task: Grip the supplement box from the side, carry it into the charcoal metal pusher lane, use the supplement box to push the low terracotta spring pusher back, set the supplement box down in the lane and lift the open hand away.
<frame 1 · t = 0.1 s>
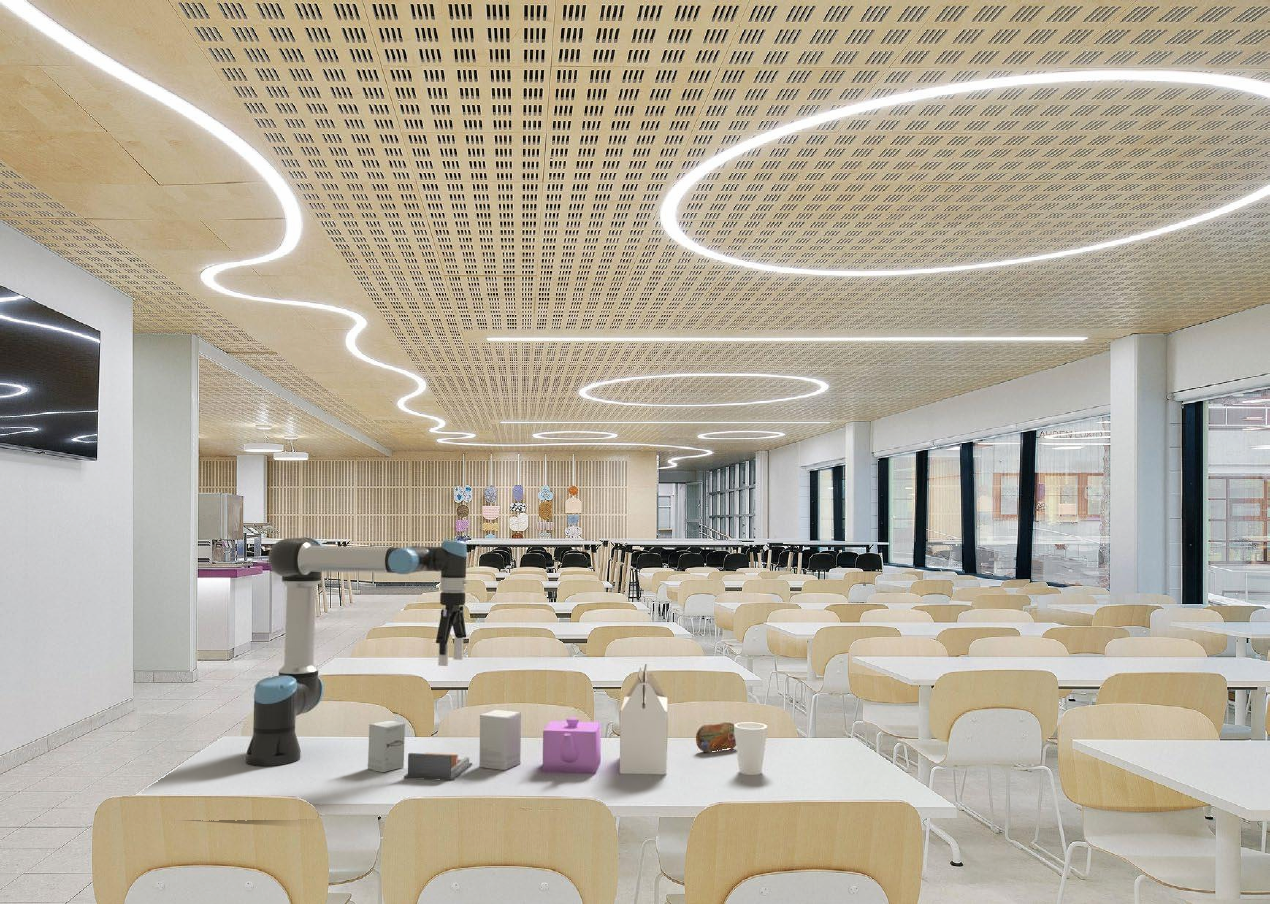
hand: (450, 662, 294), 28 cm above the table, tool pointing down, fingers open, 13 cm apart
pusher lane: (439, 771, 276), on the table
gable box: (644, 765, 286), on the table
supplement box 2: (500, 766, 283), on the table
spring pusher: (441, 760, 277), point 3 cm above the table, slide at 0.0 cm
tin: (717, 751, 304), on the table
foam cup: (750, 772, 278), on the table
supplement box: (385, 769, 278), on the table
teapot: (571, 769, 281), on the table
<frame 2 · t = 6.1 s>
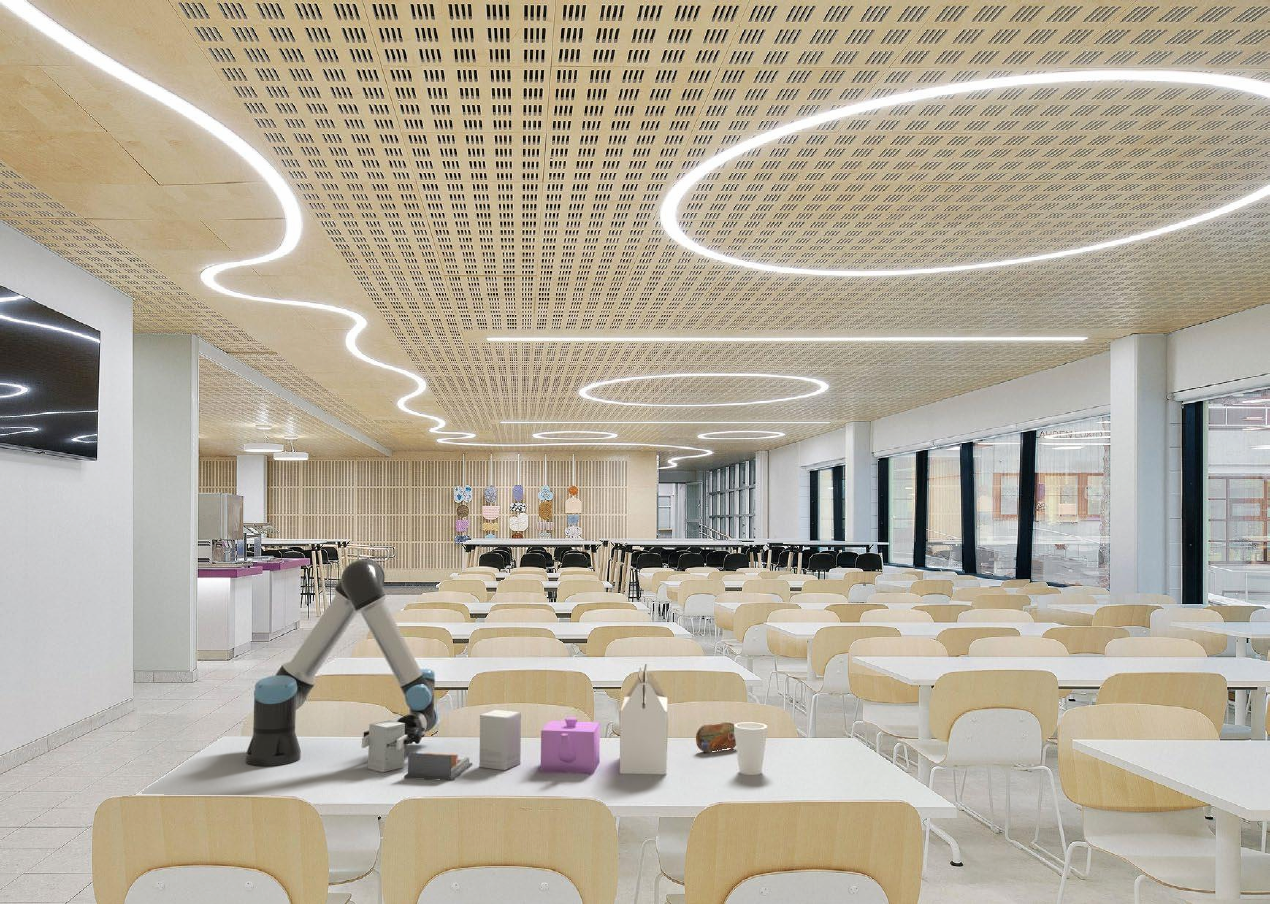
hand: (380, 743, 275), 8 cm above the table, tool horizontal, fingers closed on supplement box, 9 cm apart
supplement box: (385, 768, 278), on the table, touching gripper
everything else where it was.
when the fingers open (9 cm above the table, at t = 12.6 s): supplement box stays where it is, resting on pusher lane, spring pusher.
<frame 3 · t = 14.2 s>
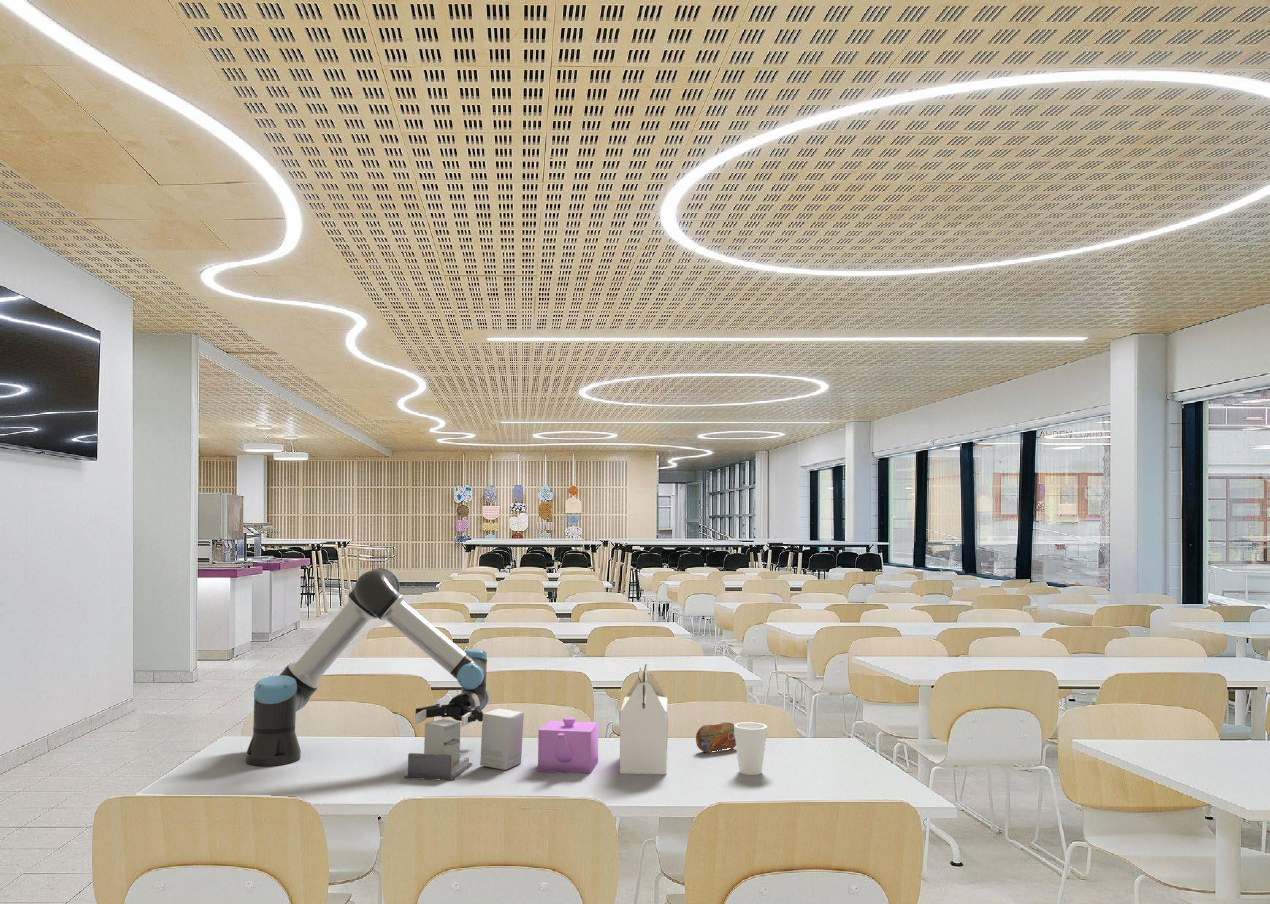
hand: (439, 720, 275), 14 cm above the table, tool horizontal, fingers open, 13 cm apart
spring pusher: (435, 764, 273), point 3 cm above the table, slide at 4.3 cm, touching supplement box
supplement box: (441, 767, 278), resting on pusher lane, spring pusher
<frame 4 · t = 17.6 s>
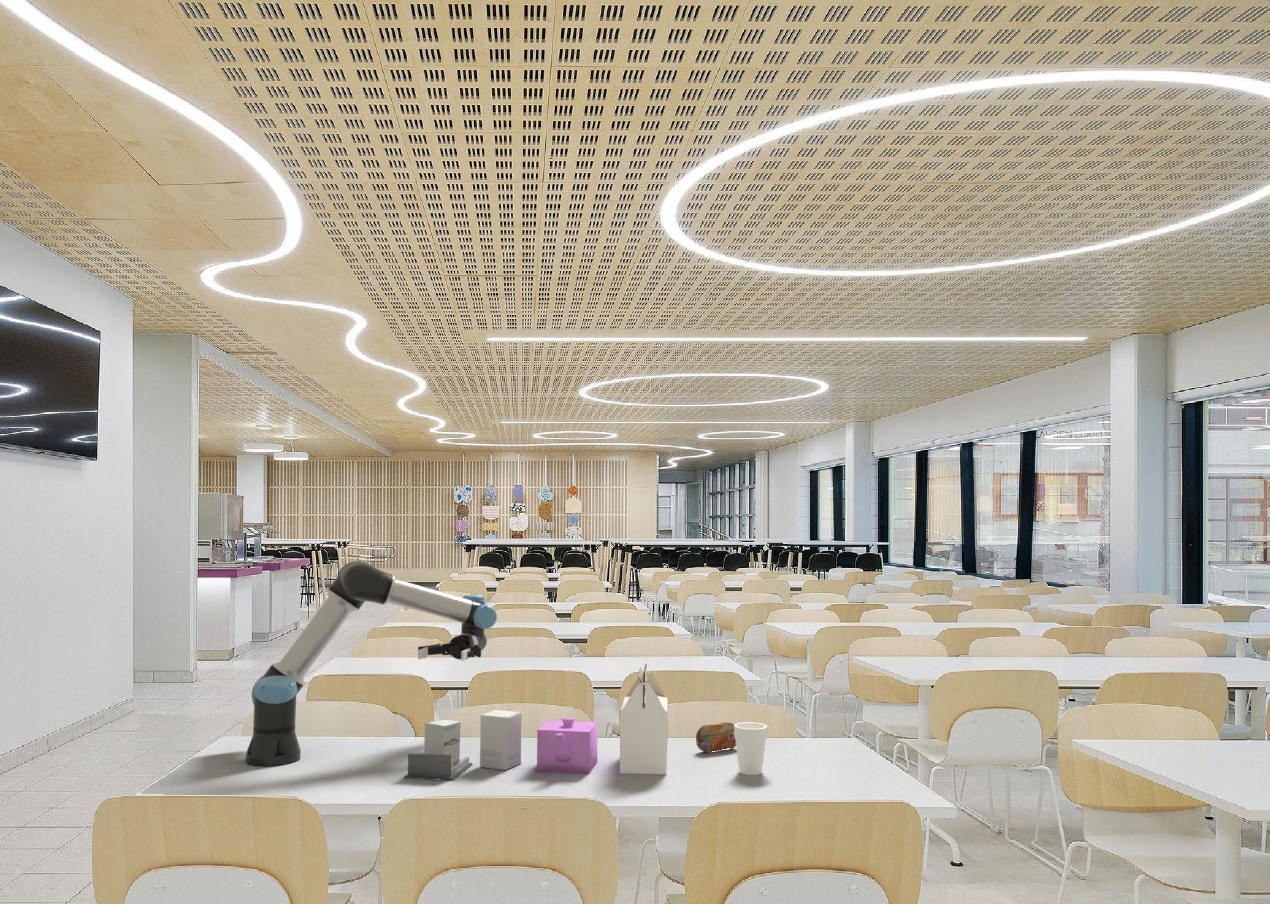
hand: (440, 655, 295), 30 cm above the table, tool horizontal, fingers open, 13 cm apart
at the end: supplement box 0.4 cm from the target spot on the pusher lane, point 0.4 cm above the pusher lane's base; supplement box tilted 0°; spring pusher slide at 4.3 cm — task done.
